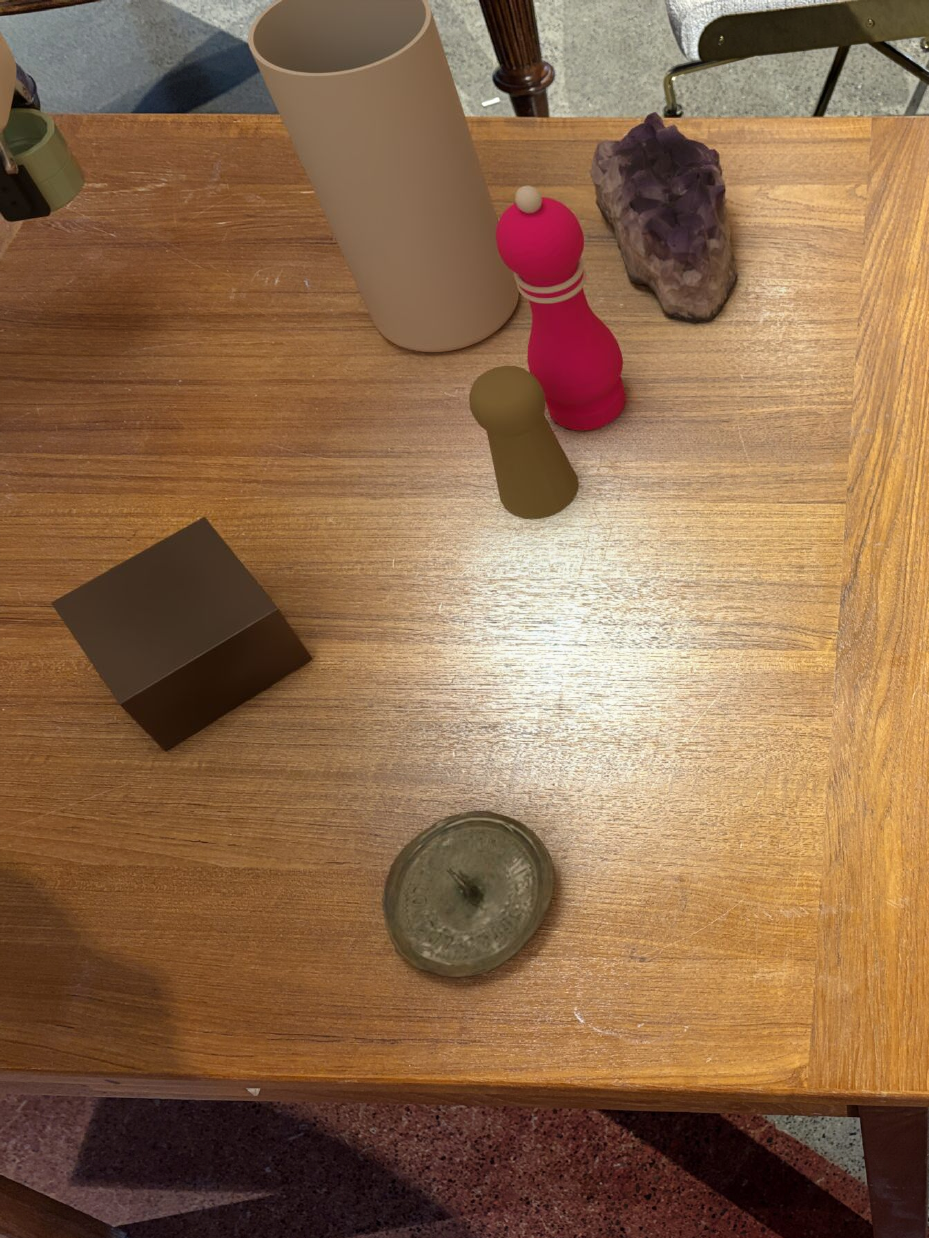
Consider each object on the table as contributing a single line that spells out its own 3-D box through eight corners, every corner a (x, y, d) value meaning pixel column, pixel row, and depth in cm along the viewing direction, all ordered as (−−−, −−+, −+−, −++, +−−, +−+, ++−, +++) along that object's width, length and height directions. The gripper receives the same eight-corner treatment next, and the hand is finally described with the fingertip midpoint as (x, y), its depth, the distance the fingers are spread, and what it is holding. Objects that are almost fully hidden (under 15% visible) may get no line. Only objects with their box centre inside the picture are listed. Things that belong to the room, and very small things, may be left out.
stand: (165, 752, 85) (119, 704, 80) (97, 653, 90) (50, 602, 85) (313, 659, 89) (278, 608, 84) (241, 569, 94) (204, 515, 89)
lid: (569, 840, 83) (548, 787, 79) (557, 967, 75) (533, 915, 72) (407, 864, 82) (379, 812, 79) (378, 994, 75) (347, 943, 72)
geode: (784, 303, 109) (759, 210, 101) (658, 352, 108) (622, 263, 100) (712, 162, 119) (684, 67, 111) (596, 206, 118) (559, 114, 110)
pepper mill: (574, 450, 100) (507, 236, 83) (525, 401, 103) (451, 186, 87) (650, 405, 103) (599, 190, 86) (599, 359, 106) (541, 143, 89)
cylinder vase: (521, 251, 114) (434, -31, 93) (521, 347, 107) (427, 65, 86) (379, 267, 113) (259, -14, 92) (369, 365, 106) (237, 84, 85)
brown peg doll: (491, 474, 99) (448, 367, 90) (566, 450, 100) (532, 342, 91) (510, 528, 96) (467, 424, 87) (588, 503, 97) (554, 397, 88)
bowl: (12, 234, 96) (-27, 176, 92) (-23, 192, 99) (-63, 133, 94) (103, 196, 98) (69, 137, 94) (66, 155, 101) (31, 97, 97)
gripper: (-154, -107, 87) (-5, 129, 102) (-204, 26, 78) (-32, 265, 93) (-36, -121, 88) (94, 114, 103) (-72, 9, 79) (78, 247, 94)
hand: (34, 184), depth 98 cm, fingers closed on bowl, 7 cm apart
